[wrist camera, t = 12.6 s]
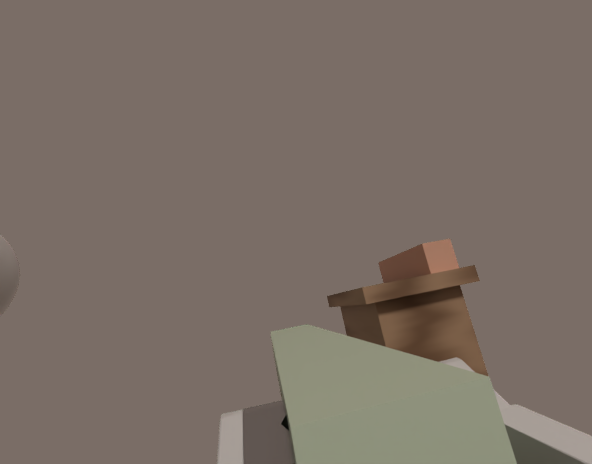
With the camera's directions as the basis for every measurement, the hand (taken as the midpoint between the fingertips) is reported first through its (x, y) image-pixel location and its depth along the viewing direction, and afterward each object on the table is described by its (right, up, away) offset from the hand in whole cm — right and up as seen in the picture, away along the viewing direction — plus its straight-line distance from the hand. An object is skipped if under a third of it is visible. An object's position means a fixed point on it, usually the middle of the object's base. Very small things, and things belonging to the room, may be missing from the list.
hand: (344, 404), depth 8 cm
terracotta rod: (+10, 0, +22) cm, 24 cm away
